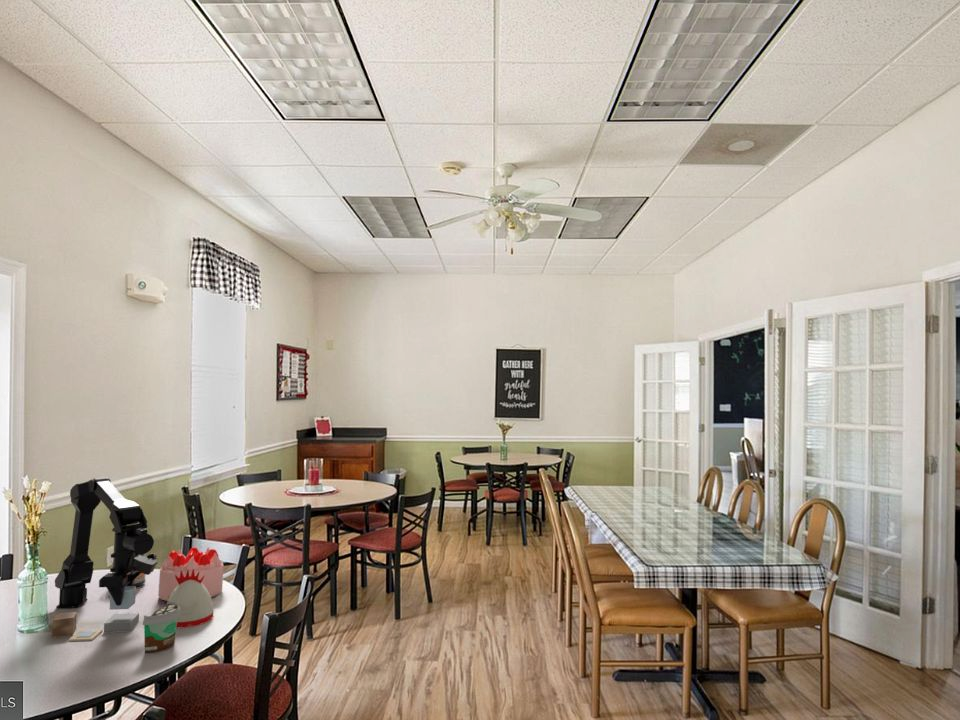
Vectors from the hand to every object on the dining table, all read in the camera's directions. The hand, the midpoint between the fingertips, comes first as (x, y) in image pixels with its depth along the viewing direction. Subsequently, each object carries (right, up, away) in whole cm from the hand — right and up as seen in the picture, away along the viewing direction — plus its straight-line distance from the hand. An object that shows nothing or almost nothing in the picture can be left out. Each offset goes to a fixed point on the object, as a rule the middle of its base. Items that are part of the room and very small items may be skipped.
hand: (122, 602), depth 180 cm
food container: (+19, -7, -13) cm, 24 cm away
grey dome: (+16, -8, +7) cm, 19 cm away
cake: (+7, -8, +28) cm, 30 cm away
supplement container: (-19, -9, +36) cm, 42 cm away
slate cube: (0, -1, 0) cm, 1 cm away
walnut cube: (-13, -7, -6) cm, 16 cm away
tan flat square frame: (-6, -7, -7) cm, 12 cm away
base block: (0, -8, 0) cm, 8 cm away
